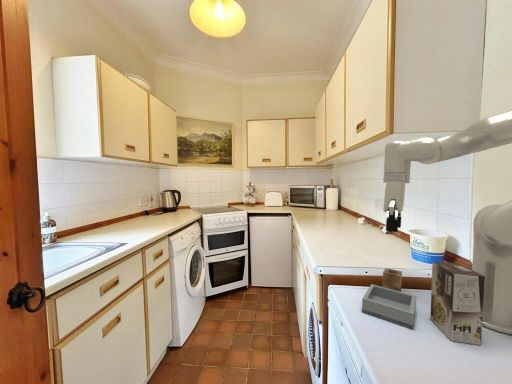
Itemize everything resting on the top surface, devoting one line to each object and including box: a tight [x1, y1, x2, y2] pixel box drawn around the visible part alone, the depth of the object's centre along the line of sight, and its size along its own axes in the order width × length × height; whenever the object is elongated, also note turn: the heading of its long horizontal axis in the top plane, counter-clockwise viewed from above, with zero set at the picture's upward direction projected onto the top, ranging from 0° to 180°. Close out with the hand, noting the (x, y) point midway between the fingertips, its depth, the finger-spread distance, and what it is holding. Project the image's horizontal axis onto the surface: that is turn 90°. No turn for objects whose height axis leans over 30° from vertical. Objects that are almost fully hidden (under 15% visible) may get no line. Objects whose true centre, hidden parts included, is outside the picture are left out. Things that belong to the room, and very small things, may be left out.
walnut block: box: [381, 267, 403, 292], centre depth 76 cm, size 5×5×7 cm
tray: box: [361, 283, 417, 331], centre depth 65 cm, size 12×12×4 cm
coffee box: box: [429, 261, 485, 346], centre depth 56 cm, size 9×6×16 cm
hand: (393, 229), depth 76 cm, fingers open, 9 cm apart
